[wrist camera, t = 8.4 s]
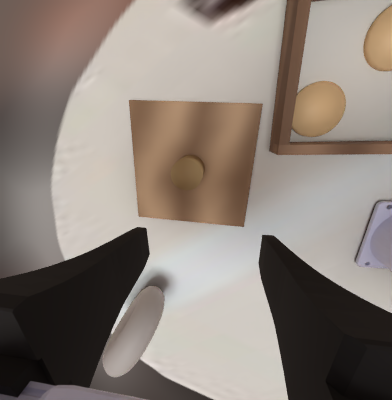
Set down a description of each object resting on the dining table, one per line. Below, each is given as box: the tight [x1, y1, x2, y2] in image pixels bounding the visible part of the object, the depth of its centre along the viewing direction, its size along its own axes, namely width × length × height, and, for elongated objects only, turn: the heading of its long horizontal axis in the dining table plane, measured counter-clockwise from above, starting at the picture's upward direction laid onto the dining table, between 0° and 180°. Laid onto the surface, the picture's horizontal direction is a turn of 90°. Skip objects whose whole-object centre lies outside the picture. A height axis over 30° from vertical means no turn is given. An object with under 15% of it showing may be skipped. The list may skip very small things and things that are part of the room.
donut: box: [103, 286, 165, 377], centre depth 23 cm, size 10×4×10 cm, turn 145°
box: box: [269, 0, 392, 155], centre depth 14 cm, size 12×12×3 cm
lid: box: [129, 100, 263, 227], centre depth 19 cm, size 13×13×4 cm
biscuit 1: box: [292, 81, 346, 137], centre depth 17 cm, size 4×4×1 cm
